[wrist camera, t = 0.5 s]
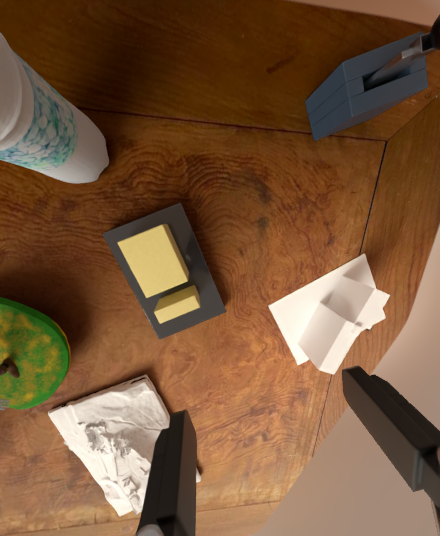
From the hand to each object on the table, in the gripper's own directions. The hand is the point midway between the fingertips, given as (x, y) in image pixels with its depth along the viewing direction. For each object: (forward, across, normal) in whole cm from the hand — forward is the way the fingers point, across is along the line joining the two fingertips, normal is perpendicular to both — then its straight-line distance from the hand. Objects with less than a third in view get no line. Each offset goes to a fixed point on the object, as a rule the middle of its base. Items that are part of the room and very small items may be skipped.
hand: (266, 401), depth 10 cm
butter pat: (+15, +6, 0) cm, 16 cm away
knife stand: (+18, -17, -16) cm, 30 cm away
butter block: (+15, +7, -6) cm, 18 cm away
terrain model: (+15, +19, +21) cm, 32 cm away
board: (+17, +6, -3) cm, 18 cm away
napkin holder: (+17, -13, +8) cm, 23 cm away
